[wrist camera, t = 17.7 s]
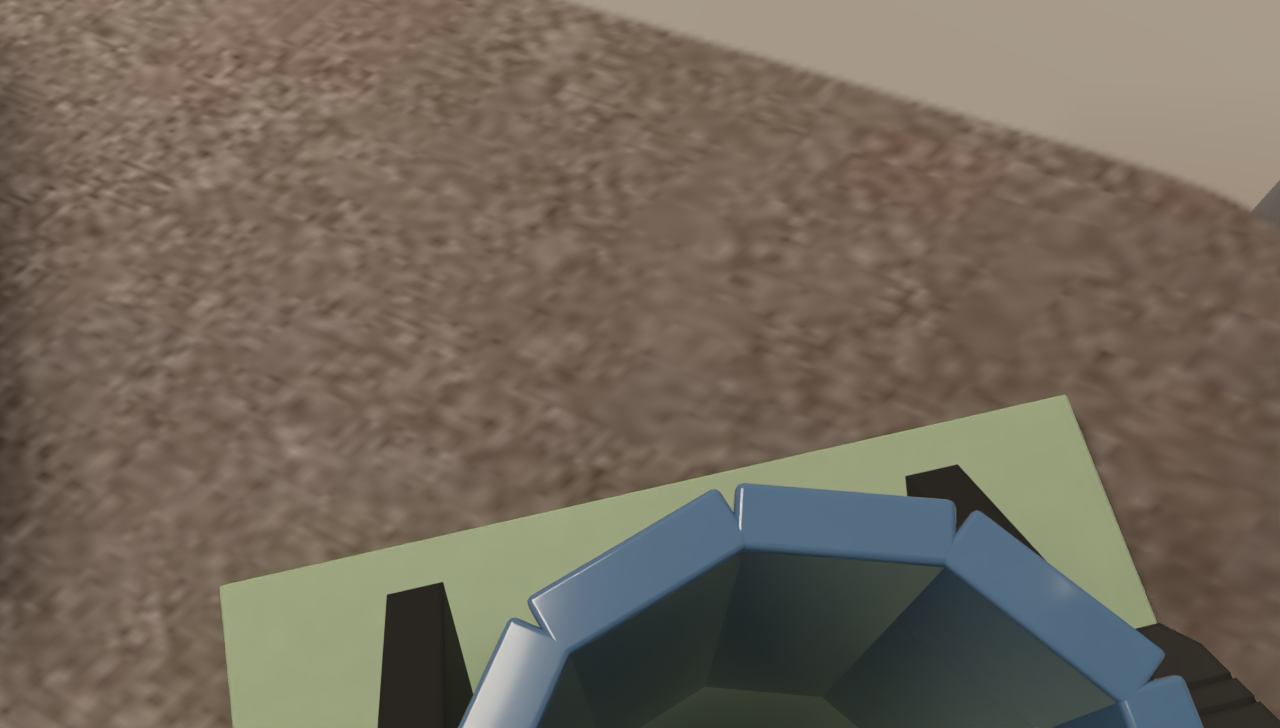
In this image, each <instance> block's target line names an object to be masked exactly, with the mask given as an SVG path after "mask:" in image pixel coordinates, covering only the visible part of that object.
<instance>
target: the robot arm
mask: <svg viewBox="0 0 1280 728" xmlns="http://www.w3.org/2000/svg"><path fill="white" fill-rule="evenodd" d="M905 479H906V489H907V496H911V497H923V498H936V499H948V500H950V501H953V502H954V504H955V507H956V529H957V528H958V527H959V526H960V525H961V524H962V523H963V521H964V520H965V519H966V518H967V517H968V516H969V515H970V513H972V512H973V511H975V510H978V511H980V512H982V513H984V514H985V515H986V516H987V517H989V518H990V519H991V520H993V521H994V522H995V523H997V524H998V525H999V526H1001V527H1002V528H1003V529H1005V530H1006V531H1007V532H1008V533H1010V534H1011V535H1012V536H1014V537H1015V538H1016V539H1018V540H1019V541H1020V542H1022V543H1023V544H1024V545H1026V546H1027V547H1028V548H1029V549H1031V550H1032V551H1033V552H1035V553H1036V554H1037V555H1039V556H1040V557H1041V558H1043V557H1042V556H1041V555H1040V553H1039V552H1038V551H1037V550H1036V549H1035V548H1034V547H1033V546H1032V545H1031V544H1030V543H1029V541H1028V540H1027V539H1026V538H1025V537H1024V536H1023V535H1022V534H1021V533H1020V532H1019V531H1018V529H1017V528H1016V527H1015V526H1014V525H1013V524H1012V523H1011V522H1010V521H1009V520H1008V519H1007V517H1006V516H1005V515H1004V514H1003V513H1002V512H1001V511H1000V510H999V509H998V508H997V507H996V505H995V504H994V503H993V502H992V501H991V500H990V499H989V498H988V497H987V496H986V495H985V493H984V492H983V491H982V490H981V489H980V488H979V487H978V486H977V485H976V484H975V483H974V481H973V480H972V479H971V478H970V477H969V476H968V475H967V474H966V473H965V472H964V471H963V469H962V468H961V467H960V466H959V465H958V464H956V465H952V466H948V467H943V468H939V469H934V470H930V471H926V472H921V473H917V474H913V475H908V476H905ZM1043 559H1044V558H1043ZM1044 560H1045V559H1044ZM1045 561H1046V560H1045ZM1046 562H1047V561H1046ZM1136 630H1137V631H1138V632H1140V633H1141V634H1142V635H1144V636H1145V637H1146V638H1147V639H1149V640H1150V641H1151V642H1153V643H1154V644H1155V645H1157V646H1158V647H1159V648H1161V649H1162V650H1163V652H1164V653H1165V657H1164V661H1163V662H1162V663H1161V665H1160V666H1159V668H1158V669H1157V671H1156V672H1155V674H1154V675H1153V677H1152V678H1151V679H1150V680H1154V679H1158V678H1162V677H1166V676H1170V675H1177V676H1181V677H1182V678H1183V679H1184V681H1185V682H1186V685H1187V687H1188V690H1189V692H1190V695H1191V697H1192V700H1193V702H1194V705H1195V707H1196V710H1197V712H1198V715H1199V717H1200V720H1201V722H1202V725H1203V727H1204V728H1280V721H1279V720H1278V719H1277V718H1276V717H1275V716H1274V715H1273V714H1272V713H1271V712H1270V711H1269V710H1268V709H1267V708H1266V707H1265V706H1264V705H1263V704H1262V703H1261V702H1256V701H1255V698H1254V695H1253V694H1252V693H1251V692H1250V691H1249V690H1248V689H1247V688H1246V687H1245V686H1244V685H1243V684H1242V683H1241V682H1240V681H1239V680H1238V679H1236V678H1234V679H1233V678H1232V677H1231V674H1230V672H1229V671H1228V670H1227V669H1226V668H1225V667H1224V666H1223V665H1222V664H1221V663H1220V662H1219V661H1218V660H1217V659H1216V658H1215V657H1214V656H1213V655H1212V654H1211V653H1210V652H1209V651H1208V650H1207V649H1206V648H1205V647H1204V646H1203V645H1202V644H1200V643H1198V642H1196V641H1194V640H1192V639H1190V638H1188V637H1186V636H1184V635H1182V634H1180V633H1178V632H1176V631H1174V630H1172V629H1170V628H1168V627H1166V626H1164V625H1162V624H1160V623H1157V624H1152V625H1148V626H1144V627H1140V628H1136ZM472 696H473V691H472V687H471V683H470V680H469V676H468V672H467V668H466V665H465V661H464V657H463V654H462V650H461V646H460V642H459V639H458V635H457V631H456V628H455V624H454V620H453V616H452V613H451V609H450V605H449V602H448V598H447V594H446V590H445V587H444V583H443V582H440V583H436V584H431V585H427V586H422V587H418V588H414V589H409V590H405V591H401V592H396V593H392V594H387V599H386V613H385V628H384V642H383V656H382V670H381V684H380V699H379V713H378V727H377V728H458V727H459V724H460V722H461V720H462V718H463V716H464V714H465V711H466V709H467V707H468V705H469V703H470V701H471V698H472Z"/></svg>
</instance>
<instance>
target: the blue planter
mask: <svg viewBox="0 0 1280 728" xmlns="http://www.w3.org/2000/svg"><path fill="white" fill-rule="evenodd" d="M527 603H528V607H529V610H530V612H531V614H532V616H533V619H534V621H535V623H536V625H537V626H535V625H532V624H530V623H528V622H525V621H523V620H521V619H518V618H511V619H509V620H508V621H507V623H506V625H505V627H504V630H503V632H502V634H501V636H500V638H499V640H498V642H497V645H496V647H495V649H494V651H493V653H492V655H491V658H490V660H489V662H488V664H487V666H486V668H485V670H484V673H483V675H482V677H481V679H480V681H479V683H478V686H477V688H476V690H475V692H474V694H473V696H472V698H471V701H470V703H469V705H468V707H467V709H466V711H465V714H464V716H463V718H462V720H461V722H460V724H459V727H458V728H640V727H642V726H643V725H645V724H647V723H648V722H650V721H651V720H653V719H655V718H656V717H658V716H659V715H661V714H663V713H664V712H666V711H667V710H669V709H671V708H672V707H674V706H675V705H677V704H679V703H680V702H682V701H683V700H685V699H687V698H688V697H690V696H691V695H693V694H695V693H696V692H698V691H699V690H701V689H702V688H704V687H712V688H723V689H735V690H746V691H758V692H769V693H781V694H792V695H803V696H815V697H822V698H824V699H825V700H826V701H827V702H828V703H829V704H831V705H832V706H833V707H834V708H835V709H837V710H838V711H839V712H840V713H841V714H842V715H844V716H845V717H846V718H847V719H848V720H850V721H851V722H852V723H853V724H854V725H855V726H857V727H858V728H1204V727H1203V725H1202V722H1201V720H1200V717H1199V715H1198V712H1197V710H1196V707H1195V705H1194V702H1193V700H1192V697H1191V695H1190V692H1189V690H1188V687H1187V685H1186V682H1185V681H1184V679H1183V678H1182V677H1181V676H1177V675H1170V676H1166V677H1162V678H1158V679H1154V680H1150V679H1151V678H1152V677H1153V675H1154V674H1155V672H1156V671H1157V669H1158V668H1159V666H1160V665H1161V663H1162V662H1163V661H1164V657H1165V653H1164V652H1163V650H1162V649H1161V648H1159V647H1158V646H1157V645H1155V644H1154V643H1153V642H1151V641H1150V640H1149V639H1147V638H1146V637H1145V636H1144V635H1142V634H1141V633H1140V632H1138V631H1137V630H1136V629H1134V628H1133V627H1132V626H1130V625H1129V624H1128V623H1126V622H1125V621H1124V620H1123V619H1121V618H1120V617H1119V616H1117V615H1116V614H1115V613H1113V612H1112V611H1111V610H1109V609H1108V608H1107V607H1105V606H1104V605H1103V604H1102V603H1100V602H1099V601H1098V600H1096V599H1095V598H1094V597H1092V596H1091V595H1090V594H1088V593H1087V592H1086V591H1085V590H1083V589H1082V588H1081V587H1079V586H1078V585H1077V584H1075V583H1074V582H1073V581H1071V580H1070V579H1069V578H1067V577H1066V576H1065V575H1064V574H1062V573H1061V572H1060V571H1058V570H1057V569H1056V568H1054V567H1053V566H1052V565H1050V564H1049V563H1048V562H1046V561H1045V560H1044V559H1043V558H1041V557H1040V556H1039V555H1037V554H1036V553H1035V552H1033V551H1032V550H1031V549H1029V548H1028V547H1027V546H1026V545H1024V544H1023V543H1022V542H1020V541H1019V540H1018V539H1016V538H1015V537H1014V536H1012V535H1011V534H1010V533H1008V532H1007V531H1006V530H1005V529H1003V528H1002V527H1001V526H999V525H998V524H997V523H995V522H994V521H993V520H991V519H990V518H989V517H987V516H986V515H985V514H984V513H982V512H980V511H978V510H975V511H973V512H972V513H970V515H969V516H968V517H967V518H966V519H965V520H964V521H963V523H962V524H961V525H960V526H959V527H958V528H957V529H956V507H955V504H954V502H953V501H950V500H948V499H936V498H923V497H911V496H898V495H886V494H873V493H861V492H848V491H836V490H823V489H811V488H798V487H786V486H774V485H761V484H749V483H743V484H739V485H738V486H737V488H736V489H735V493H734V497H733V502H732V506H731V508H730V506H729V505H728V503H727V502H726V500H725V499H724V497H723V496H722V494H721V492H719V491H718V490H716V489H713V490H709V491H708V492H706V493H704V494H703V495H701V496H699V497H698V498H696V499H694V500H692V501H691V502H689V503H687V504H686V505H684V506H682V507H681V508H679V509H677V510H676V511H674V512H672V513H670V514H669V515H667V516H665V517H664V518H662V519H660V520H659V521H657V522H655V523H653V524H652V525H650V526H648V527H647V528H645V529H643V530H642V531H640V532H638V533H636V534H635V535H633V536H631V537H630V538H628V539H626V540H625V541H623V542H621V543H619V544H618V545H616V546H614V547H613V548H611V549H609V550H608V551H606V552H604V553H602V554H601V555H599V556H597V557H596V558H594V559H592V560H591V561H589V562H587V563H585V564H584V565H582V566H580V567H579V568H577V569H575V570H574V571H572V572H570V573H569V574H567V575H565V576H563V577H562V578H560V579H558V580H557V581H555V582H553V583H552V584H550V585H548V586H546V587H545V588H543V589H541V590H540V591H538V592H536V593H535V594H533V595H531V596H530V597H529V599H528V600H527Z"/></svg>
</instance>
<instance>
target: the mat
mask: <svg viewBox="0 0 1280 728" xmlns="http://www.w3.org/2000/svg"><path fill="white" fill-rule="evenodd" d="M956 464H958V465H959V466H960V467H961V468H962V469H963V471H964V472H965V473H966V474H967V475H968V476H969V477H970V478H971V479H972V480H973V481H974V483H975V484H976V485H977V486H978V487H979V488H980V489H981V490H982V491H983V492H984V493H985V495H986V496H987V497H988V498H989V499H990V500H991V501H992V502H993V503H994V504H995V505H996V507H997V508H998V509H999V510H1000V511H1001V512H1002V513H1003V514H1004V515H1005V516H1006V517H1007V519H1008V520H1009V521H1010V522H1011V523H1012V524H1013V525H1014V526H1015V527H1016V528H1017V529H1018V531H1019V532H1020V533H1021V534H1022V535H1023V536H1024V537H1025V538H1026V539H1027V540H1028V541H1029V543H1030V544H1031V545H1032V546H1033V547H1034V548H1035V549H1036V550H1037V551H1038V552H1039V553H1040V555H1041V556H1042V557H1043V558H1044V559H1045V560H1046V561H1047V562H1048V563H1049V564H1050V565H1052V566H1053V567H1054V568H1056V569H1057V570H1058V571H1060V572H1061V573H1062V574H1064V575H1065V576H1066V577H1067V578H1069V579H1070V580H1071V581H1073V582H1074V583H1075V584H1077V585H1078V586H1079V587H1081V588H1082V589H1083V590H1085V591H1086V592H1087V593H1088V594H1090V595H1091V596H1092V597H1094V598H1095V599H1096V600H1098V601H1099V602H1100V603H1102V604H1103V605H1104V606H1105V607H1107V608H1108V609H1109V610H1111V611H1112V612H1113V613H1115V614H1116V615H1117V616H1119V617H1120V618H1121V619H1123V620H1124V621H1125V622H1126V623H1128V624H1129V625H1130V626H1132V627H1133V628H1134V629H1136V628H1140V627H1144V626H1148V625H1152V624H1157V621H1156V618H1155V616H1154V613H1153V611H1152V608H1151V606H1150V603H1149V601H1148V598H1147V596H1146V593H1145V591H1144V588H1143V586H1142V583H1141V581H1140V578H1139V576H1138V573H1137V571H1136V568H1135V566H1134V563H1133V561H1132V558H1131V556H1130V553H1129V551H1128V548H1127V546H1126V543H1125V541H1124V538H1123V536H1122V533H1121V531H1120V528H1119V526H1118V523H1117V521H1116V518H1115V515H1114V513H1113V510H1112V508H1111V505H1110V503H1109V500H1108V498H1107V495H1106V493H1105V490H1104V488H1103V485H1102V483H1101V480H1100V478H1099V475H1098V473H1097V470H1096V468H1095V465H1094V463H1093V460H1092V458H1091V455H1090V453H1089V450H1088V448H1087V445H1086V443H1085V440H1084V438H1083V435H1082V433H1081V430H1080V428H1079V425H1078V423H1077V420H1076V418H1075V415H1074V413H1073V410H1072V408H1071V405H1070V403H1069V400H1068V398H1067V396H1066V395H1061V396H1056V397H1052V398H1047V399H1043V400H1039V401H1034V402H1030V403H1025V404H1021V405H1017V406H1012V407H1008V408H1003V409H999V410H994V411H990V412H986V413H981V414H977V415H972V416H968V417H964V418H959V419H955V420H950V421H946V422H941V423H937V424H933V425H928V426H924V427H919V428H915V429H911V430H906V431H902V432H897V433H893V434H888V435H884V436H880V437H875V438H871V439H866V440H862V441H858V442H853V443H849V444H844V445H840V446H835V447H831V448H827V449H822V450H818V451H813V452H809V453H805V454H800V455H796V456H791V457H787V458H782V459H778V460H774V461H769V462H765V463H760V464H756V465H752V466H747V467H743V468H738V469H734V470H730V471H725V472H721V473H716V474H712V475H707V476H703V477H699V478H694V479H690V480H685V481H681V482H677V483H672V484H668V485H663V486H659V487H654V488H650V489H646V490H641V491H637V492H632V493H628V494H624V495H619V496H615V497H610V498H606V499H601V500H597V501H593V502H588V503H584V504H579V505H575V506H571V507H566V508H562V509H557V510H553V511H548V512H544V513H540V514H535V515H531V516H526V517H522V518H518V519H513V520H509V521H504V522H500V523H495V524H491V525H487V526H482V527H478V528H473V529H469V530H465V531H460V532H456V533H451V534H447V535H442V536H438V537H434V538H429V539H425V540H420V541H416V542H412V543H407V544H403V545H398V546H394V547H389V548H385V549H381V550H376V551H372V552H367V553H363V554H359V555H354V556H350V557H345V558H341V559H336V560H332V561H328V562H323V563H319V564H314V565H310V566H306V567H301V568H297V569H292V570H288V571H283V572H279V573H275V574H270V575H266V576H261V577H257V578H253V579H248V580H244V581H239V582H235V583H230V584H226V585H222V586H221V587H220V601H221V611H222V621H223V631H224V642H225V652H226V662H227V673H228V683H229V693H230V703H231V714H232V724H233V728H377V727H378V713H379V699H380V684H381V670H382V656H383V642H384V628H385V613H386V599H387V594H392V593H396V592H401V591H405V590H409V589H414V588H418V587H422V586H427V585H431V584H436V583H440V582H443V583H444V587H445V590H446V594H447V598H448V602H449V605H450V609H451V613H452V616H453V620H454V624H455V628H456V631H457V635H458V639H459V642H460V646H461V650H462V654H463V657H464V661H465V665H466V668H467V672H468V676H469V680H470V683H471V687H472V691H473V694H474V692H475V690H476V688H477V686H478V683H479V681H480V679H481V677H482V675H483V673H484V670H485V668H486V666H487V664H488V662H489V660H490V658H491V655H492V653H493V651H494V649H495V647H496V645H497V642H498V640H499V638H500V636H501V634H502V632H503V630H504V627H505V625H506V623H507V621H508V620H509V619H511V618H518V619H521V620H523V621H525V622H528V623H530V624H532V625H535V626H537V625H536V623H535V621H534V619H533V616H532V614H531V612H530V610H529V607H528V603H527V600H528V599H529V597H530V596H531V595H533V594H535V593H536V592H538V591H540V590H541V589H543V588H545V587H546V586H548V585H550V584H552V583H553V582H555V581H557V580H558V579H560V578H562V577H563V576H565V575H567V574H569V573H570V572H572V571H574V570H575V569H577V568H579V567H580V566H582V565H584V564H585V563H587V562H589V561H591V560H592V559H594V558H596V557H597V556H599V555H601V554H602V553H604V552H606V551H608V550H609V549H611V548H613V547H614V546H616V545H618V544H619V543H621V542H623V541H625V540H626V539H628V538H630V537H631V536H633V535H635V534H636V533H638V532H640V531H642V530H643V529H645V528H647V527H648V526H650V525H652V524H653V523H655V522H657V521H659V520H660V519H662V518H664V517H665V516H667V515H669V514H670V513H672V512H674V511H676V510H677V509H679V508H681V507H682V506H684V505H686V504H687V503H689V502H691V501H692V500H694V499H696V498H698V497H699V496H701V495H703V494H704V493H706V492H708V491H709V490H713V489H716V490H718V491H719V492H721V494H722V496H723V497H724V499H725V500H726V502H727V503H728V505H729V506H730V508H731V506H732V502H733V497H734V493H735V489H736V488H737V486H738V485H739V484H743V483H749V484H761V485H774V486H786V487H798V488H811V489H823V490H836V491H848V492H861V493H873V494H886V495H898V496H907V489H906V479H905V476H908V475H913V474H917V473H921V472H926V471H930V470H934V469H939V468H943V467H948V466H952V465H956ZM640 728H858V727H857V726H855V725H854V724H853V723H852V722H851V721H850V720H848V719H847V718H846V717H845V716H844V715H842V714H841V713H840V712H839V711H838V710H837V709H835V708H834V707H833V706H832V705H831V704H829V703H828V702H827V701H826V700H825V699H824V698H822V697H815V696H803V695H792V694H781V693H769V692H758V691H746V690H735V689H723V688H712V687H704V688H702V689H701V690H699V691H698V692H696V693H695V694H693V695H691V696H690V697H688V698H687V699H685V700H683V701H682V702H680V703H679V704H677V705H675V706H674V707H672V708H671V709H669V710H667V711H666V712H664V713H663V714H661V715H659V716H658V717H656V718H655V719H653V720H651V721H650V722H648V723H647V724H645V725H643V726H642V727H640Z"/></svg>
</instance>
